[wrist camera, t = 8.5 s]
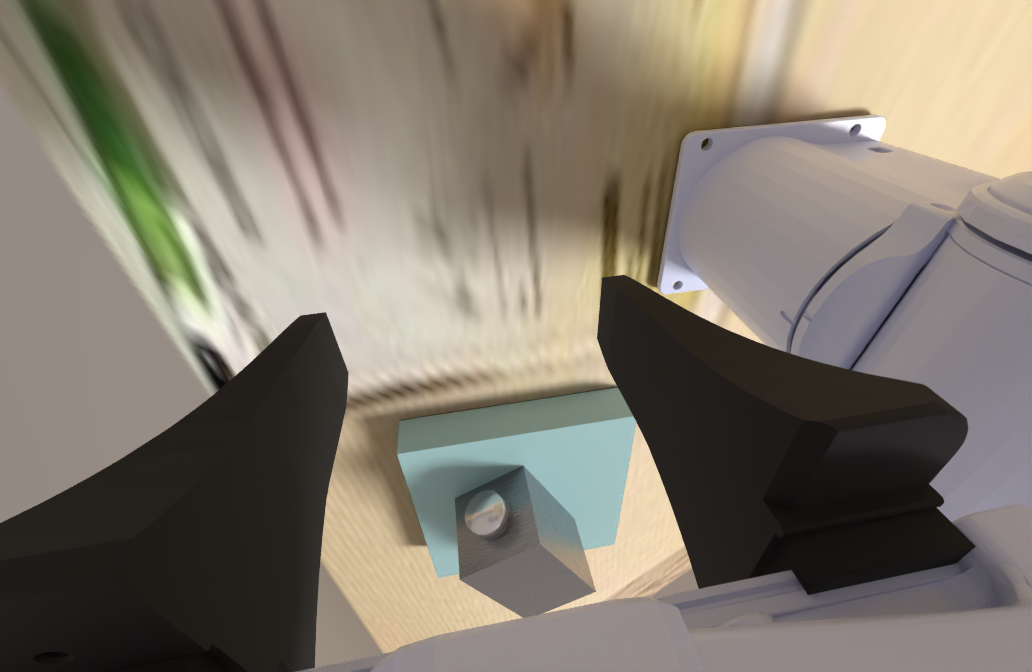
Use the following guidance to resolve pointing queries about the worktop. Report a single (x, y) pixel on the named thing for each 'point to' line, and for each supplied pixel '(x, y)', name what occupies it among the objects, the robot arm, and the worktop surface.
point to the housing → (520, 545)
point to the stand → (520, 462)
